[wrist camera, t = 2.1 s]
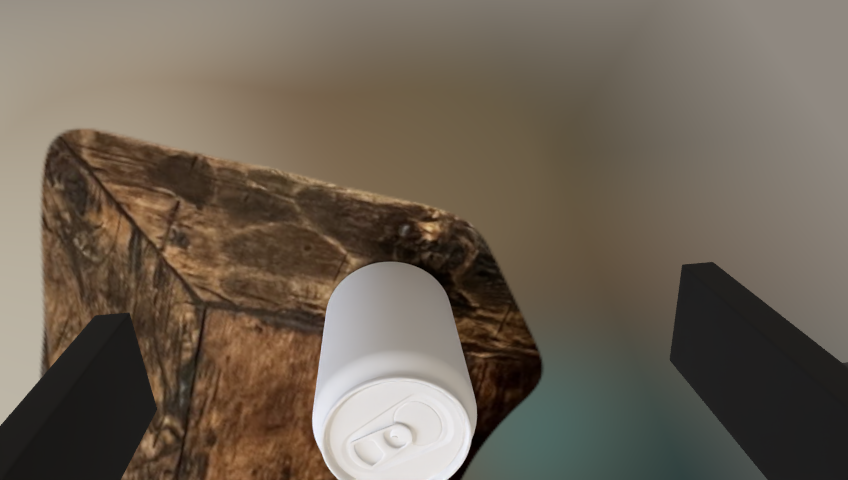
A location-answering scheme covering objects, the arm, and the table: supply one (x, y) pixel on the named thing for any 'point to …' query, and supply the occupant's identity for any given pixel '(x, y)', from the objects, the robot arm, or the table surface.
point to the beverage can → (392, 379)
